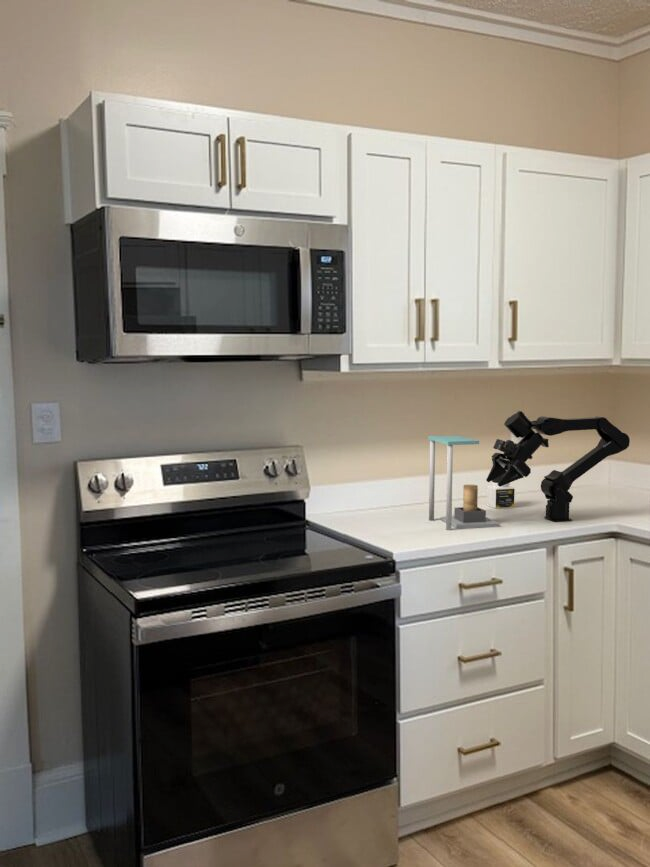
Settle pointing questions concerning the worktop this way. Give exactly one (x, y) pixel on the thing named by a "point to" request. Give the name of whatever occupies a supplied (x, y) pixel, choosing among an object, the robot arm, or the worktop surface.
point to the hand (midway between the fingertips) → (492, 483)
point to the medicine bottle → (500, 495)
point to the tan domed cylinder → (470, 497)
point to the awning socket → (460, 517)
